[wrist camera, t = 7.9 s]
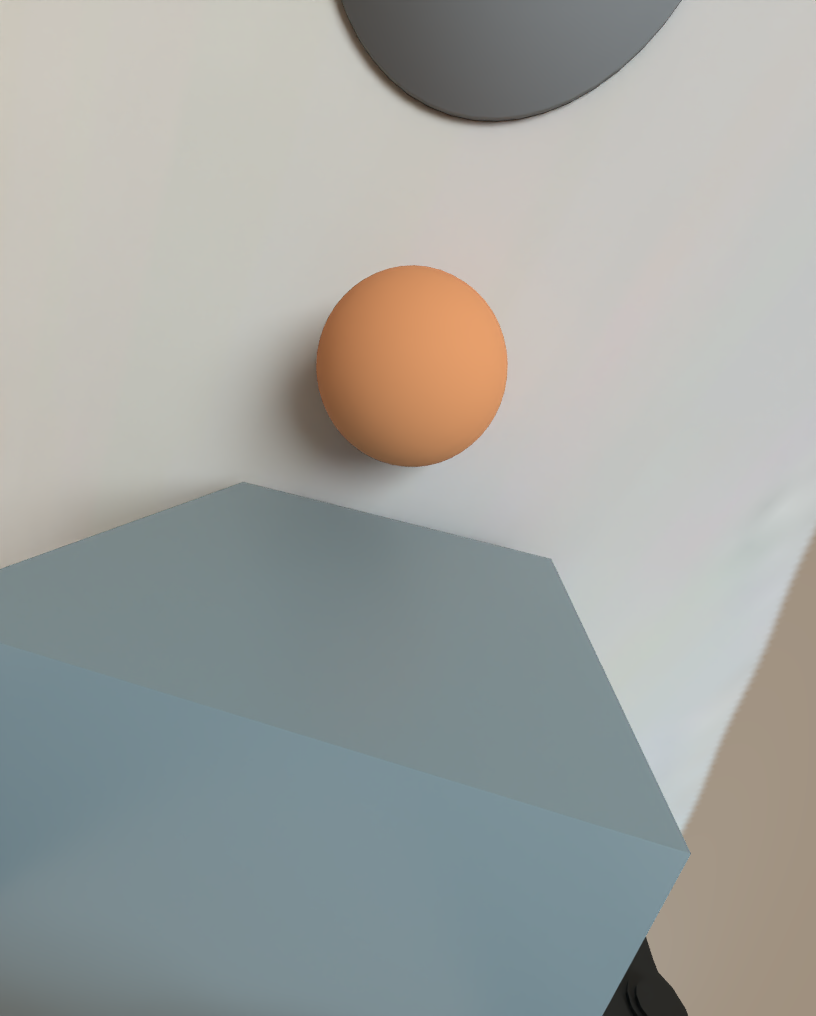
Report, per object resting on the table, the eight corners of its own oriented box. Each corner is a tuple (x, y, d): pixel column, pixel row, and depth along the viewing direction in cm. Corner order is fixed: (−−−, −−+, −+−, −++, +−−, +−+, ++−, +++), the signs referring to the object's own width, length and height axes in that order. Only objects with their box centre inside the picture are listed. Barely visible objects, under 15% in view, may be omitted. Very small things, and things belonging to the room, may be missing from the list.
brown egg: (338, 437, 15) (271, 456, 10) (361, 280, 13) (296, 213, 8) (480, 468, 14) (483, 504, 9) (520, 308, 13) (546, 254, 8)
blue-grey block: (218, 727, 17) (-42, 1059, 8) (243, 481, 14) (-112, 608, 6) (470, 805, 16) (463, 1268, 7) (550, 558, 13) (691, 853, 5)
